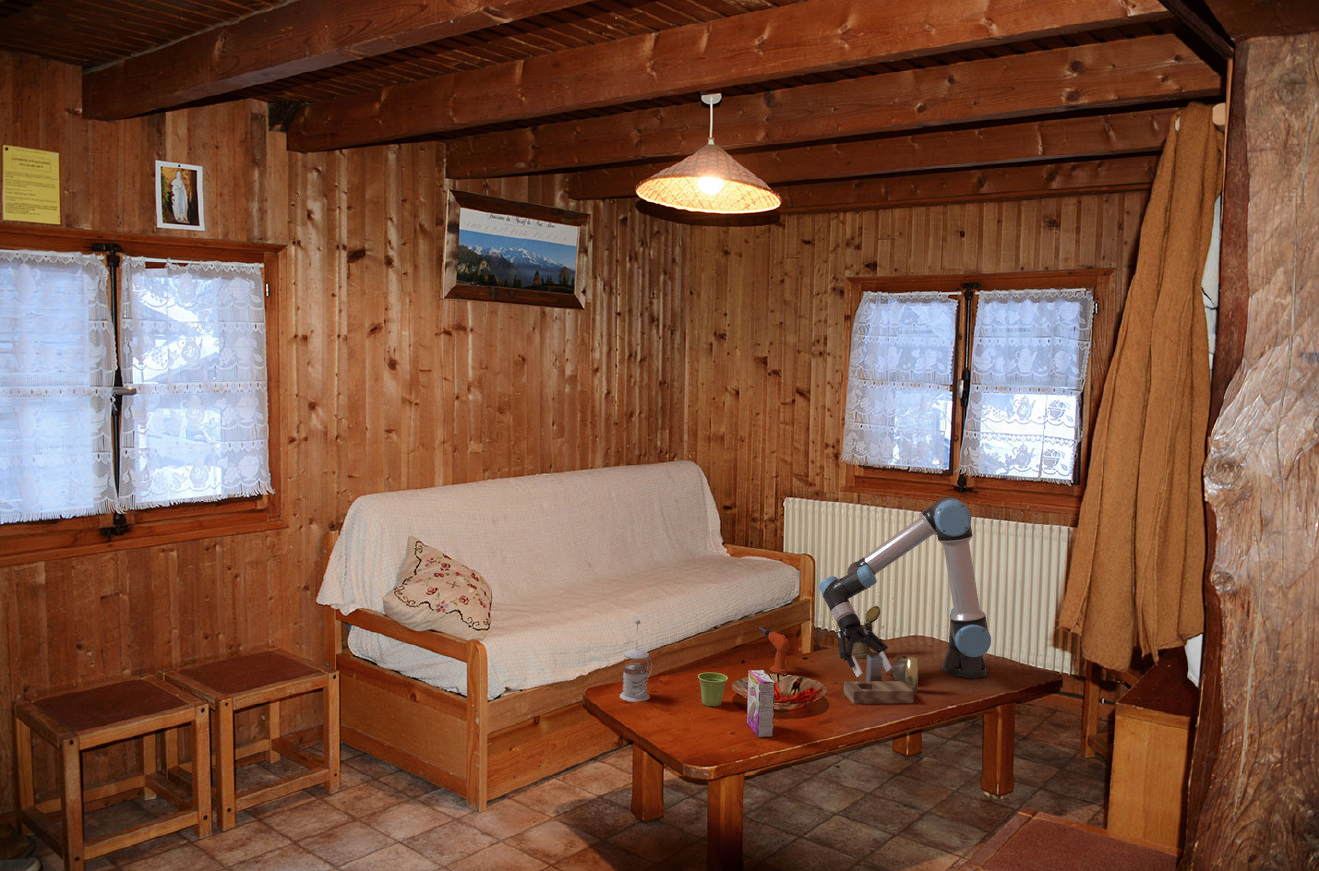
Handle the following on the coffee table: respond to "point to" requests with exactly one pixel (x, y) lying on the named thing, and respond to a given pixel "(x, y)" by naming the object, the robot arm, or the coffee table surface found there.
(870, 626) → the tan piece
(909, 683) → the brass cylinder
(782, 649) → the toy drill
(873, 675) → the square bit
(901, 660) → the ceramic sculpture
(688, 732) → the coffee table surface
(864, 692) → the socket block
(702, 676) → the plant pot
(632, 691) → the french press
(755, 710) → the candy bar box
